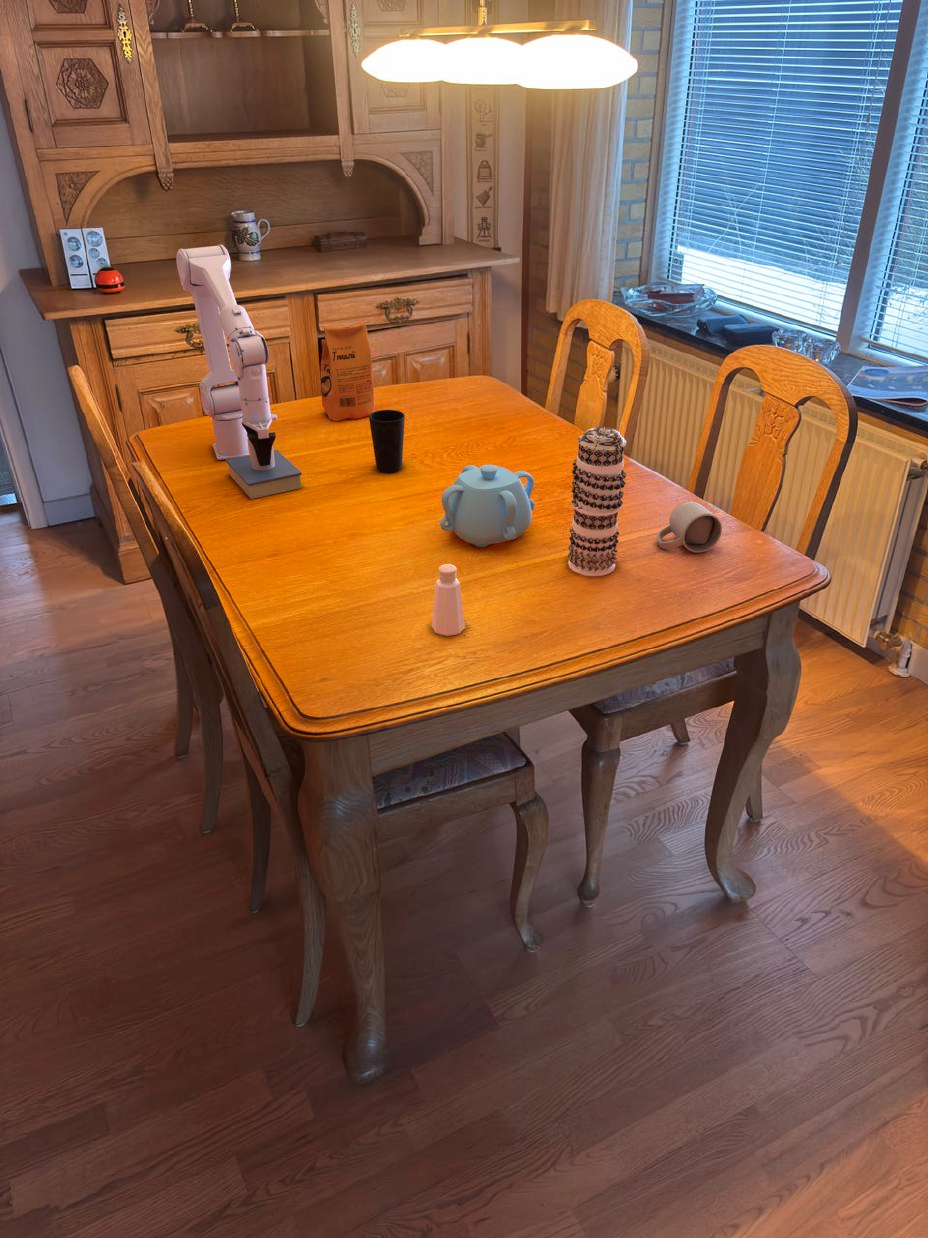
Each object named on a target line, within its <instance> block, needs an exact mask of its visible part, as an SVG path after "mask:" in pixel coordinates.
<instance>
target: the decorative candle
mask: <svg viewBox="0 0 928 1238" xmlns="http://www.w3.org/2000/svg"><path fill="white" fill-rule="evenodd" d="M577 442H578V451H577V456H576V459H574V460H573V463H572V466H573V467H572V468H573V469H572V470H571V474H572V475H573V477H572V481H571V484H572V489H571V490H570V491H571V493H572V500H571V505H572V507H573V518H572V522H571V523H572V524H571V528H570V529H569V532H570V536H569V538H568V539H569V541H570V542H569V545H568V551H569V552H568V554H567V557H568V561H567V565H568V567H569V569H570V570H572V572H574V573H576V574H579V575H582V576H586V577H602V576H606V575H610V573H612V572H614V571H615V569H616V560H618V557H617V553H618V551H619V550H618V548H617V546H618V543H619V539H618V537H619V535H620V532H619V531H618V530H619V529H618V526H619V521H618V517H619V511H621V509H622V505H623V504H624V502H623V500H622V498H623V497H624V495H625V493H624V492H623V491H622V490H621V489H623V488H625V486H626V485H627V484H626V481H625V479H626V478H627V472H625V470H624V469H623V468H624V467H625V466H624V465H625V458H624V453H625V447H626V446H627V444H628V441H627V439H626V438H625V437H623V436H622V435H621V433H620V432H619V431H618V430H617V429H615V428H611V427H606V426H596V427H591V428H589V429H587V430H586V431H585V432H584V433H583V434H582V435H580V436H579V437H578V438H577Z"/></svg>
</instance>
